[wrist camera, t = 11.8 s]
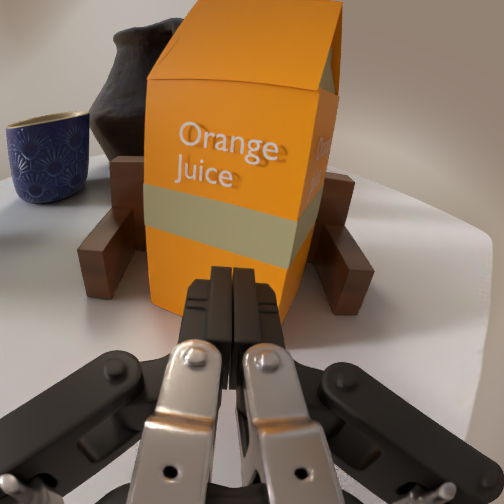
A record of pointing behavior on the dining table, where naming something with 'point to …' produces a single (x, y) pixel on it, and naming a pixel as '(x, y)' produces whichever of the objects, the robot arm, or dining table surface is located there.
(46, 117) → the planter
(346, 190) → the wooden stand
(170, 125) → the orange juice
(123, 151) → the pitcher
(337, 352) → the dining table surface
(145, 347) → the dining table surface
